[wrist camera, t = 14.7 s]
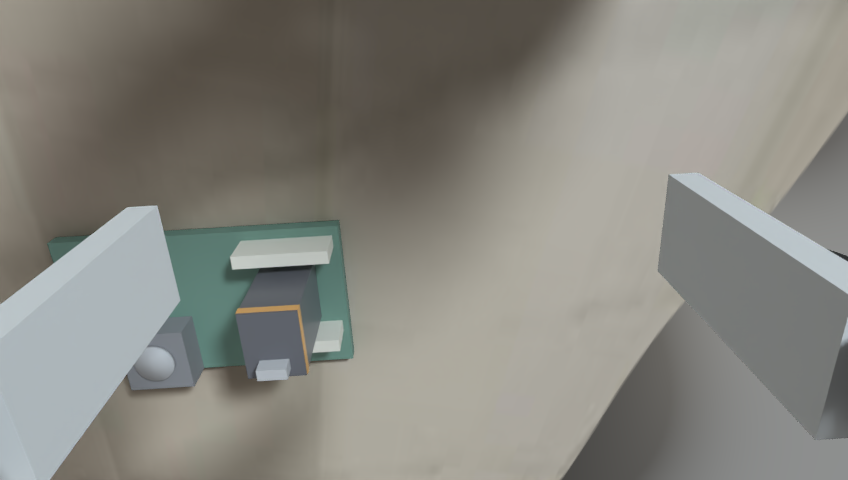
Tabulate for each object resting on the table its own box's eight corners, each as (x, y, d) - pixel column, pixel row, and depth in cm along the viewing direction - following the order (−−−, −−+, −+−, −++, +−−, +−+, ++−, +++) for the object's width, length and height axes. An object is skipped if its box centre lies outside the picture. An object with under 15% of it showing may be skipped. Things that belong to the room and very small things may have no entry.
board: (55, 237, 45) (23, 259, 41) (339, 220, 45) (333, 241, 42) (97, 366, 50) (71, 397, 46) (354, 350, 50) (350, 380, 46)
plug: (261, 262, 45) (229, 323, 37) (314, 259, 45) (294, 320, 37) (271, 319, 47) (243, 390, 39) (322, 316, 47) (304, 386, 39)
